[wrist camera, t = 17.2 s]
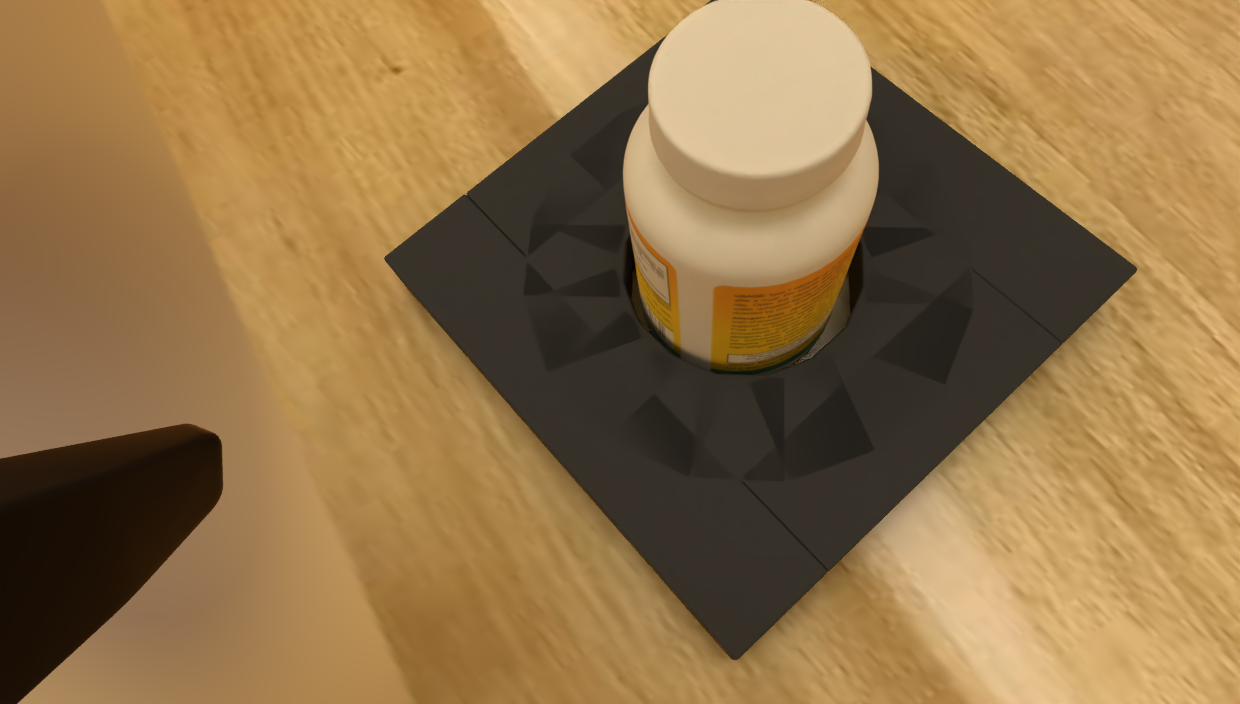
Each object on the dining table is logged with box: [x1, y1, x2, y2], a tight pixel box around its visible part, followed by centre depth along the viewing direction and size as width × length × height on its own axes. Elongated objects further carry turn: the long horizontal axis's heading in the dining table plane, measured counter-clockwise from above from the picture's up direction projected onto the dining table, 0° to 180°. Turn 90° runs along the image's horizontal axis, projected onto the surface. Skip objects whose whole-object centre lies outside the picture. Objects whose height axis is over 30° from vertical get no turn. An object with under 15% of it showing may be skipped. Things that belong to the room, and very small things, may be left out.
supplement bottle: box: [623, 0, 879, 375], centre depth 19 cm, size 5×5×10 cm
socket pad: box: [384, 0, 1137, 660], centre depth 23 cm, size 14×14×2 cm
